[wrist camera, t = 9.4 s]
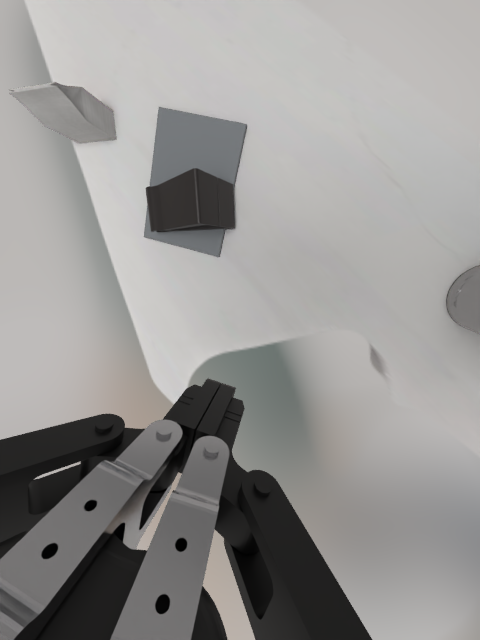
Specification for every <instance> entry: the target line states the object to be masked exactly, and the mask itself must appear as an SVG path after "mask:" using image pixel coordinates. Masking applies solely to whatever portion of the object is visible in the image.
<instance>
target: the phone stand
mask: <svg viewBox="0 0 480 640" xmlns="http://www.w3.org/2000/svg"><path fill="white" fill-rule="evenodd" d="M146 195H147V203H148V212H149V220H150V229H151V232H154V231H156V232H172V231H191V230H212V229H233V228H234V202H233V184H231V183H229V182H227V181H225V180H222V179H220V178H216V176H213V175H211V174H209V173H207V172H204V171H202V170H200V169H198V168H193V169H191V170H189V171H187V172H184V173H182V174H180V175H178V176H176V177H174V178H172V179H170V180H168V181H165V182H163V183H161V184H159V185H156V186H151V187H147V188H146Z"/></svg>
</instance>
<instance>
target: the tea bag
mask: <svg viewBox="0 0 480 640" xmlns="http://www.w3.org/2000/svg"><path fill="white" fill-rule="evenodd" d="M10 90H11V91H13V92H11V93H10V94H11V95H12V96H13V97H15V98H16V99H17V100H18V101H19V102H20V103H21V104H23V105H24V106H25V107H26V108H27V109H28V110H29V111H30V112H31V113H32V114H33V115H34V116H35V117H36V118H37V119H38V120H39V121H40V122H41V123H42V124H43V125H44V126H45V127H47V128H49V129H51V130H53V131H55V132H57V133H59V134H61V135H63V136H65V137H67V138H69V139H71V140H73V141H75V142H77V143H87V142H97V141H107V140H116V131H115V122H114V113H113V111H112V110H111V109H110V108H109V107H107V106H106V105H105V104H103V103H102V102H101V101H99V100H98V99H97V98H95V97H94V96H93V95H92V94H90V93H89V92H88V91H86V90H85V89H84V88H82V87H73V86H65V85H61V84H59V83H56V82H54V83H48V84H42V85H35V86H29V87H22V88H16V89H10Z"/></svg>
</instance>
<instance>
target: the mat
mask: <svg viewBox="0 0 480 640" xmlns="http://www.w3.org/2000/svg"><path fill="white" fill-rule="evenodd" d="M246 129H247V125H246V124H243V123H238V122H233V121H228V120H223V119H218V118H213V117H208V116H202V115H197V114H192V113H187V112H182V111H177V110H172V109H167V108H162V107H159V110H158V119H157V127H156V136H155V145H154V153H153V162H152V171H151V179H150V187H151V186H156V185H159V184H161V183H163V182H165V181H168V180H170V179H172V178H174V177H176V176H178V175H180V174H182V173H184V172H187V171H189V170H191V169H193V168H198V169H200V170H202V171H204V172H207V173H209V174H211V175H213V176H216V178H220V179H222V180H225V181H227V182H229V183H231V184H233V190H234V186H235V181H236V176H237V171H238V167H239V162H240V157H241V152H242V148H243V143H244V138H245V133H246ZM224 233H225V229H212V230H191V231H172V232H156V231H154V232H151V229H150V220H149V212H148V205H147V214H146V223H145V231H144V237H146V238H150V239H153V240H157V241H161V242H165V243H168V244H172V245H176V246H179V247H183V248H187V249H190V250H194V251H198V252H202V253H205V254H209V255H213V256H216V257H220V252H221V247H222V243H223V238H224Z"/></svg>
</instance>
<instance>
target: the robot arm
mask: <svg viewBox="0 0 480 640" xmlns="http://www.w3.org/2000/svg"><path fill="white" fill-rule="evenodd" d="M447 309H448V312H449V314H450V316H451V317H452V319H453V320H454V321H455V322H456V323H458V324H459V325H461V326H463V327H465V328H467V329H469V330H471V331H473V332H476V333H478V334H480V266H477V267H474V268H472V269H470V270H468V271H467V272H465V273H464V274H462V275H461V276H460V277H459V278H458V279H457V280H456V281H455V282H454V284H453V285H452V287H451V288H450V291H449V293H448V297H447ZM235 389H236V388H235V387H232V386H229V385H226V384H223V383H222V384H221V383H220V382H217V381H214V380H211V379H207V380H206V382H205V383H204V385H203V386H202V387H201V386H197V385H193V386H191V387H189V388H187V389H186V390H185V391H184V393H183V394H182V396H180V398H179V399H178V401H177V402H176V403H175V404H174V405H173V407H172V408H171V409H170V411H169V412H168V413H167V414H166V416H165V417H164V419H163V420H158V421H155V422H153V423H151V424H150V425H149V426H148V427H147V428H146V429H133V428H125V423H124V421H123V419H122V418H121V417H119V416H117V415H114V414H101V415H97V416H93V417H89V418H85V419H81V420H77V421H74V422H70V423H65V424H62V425H58V426H53V427H50V428H45V429H42V430H38V431H34V432H30V433H26V434H22V435H18V436H14V437H10V438H6V439H2V440H0V640H227V636H226V632H225V629H224V625H223V622H222V620H221V617H220V614H219V612H218V610H217V608H216V605H215V603H214V602H213V600H212V598H211V597H210V595H209V593H208V592H207V591H206V590H205V589H204V587H203V586H202V585H203V580H204V576H205V571H206V566H207V561H208V557H209V552H210V547H211V543H212V538H213V533H214V529H215V530H216V531H217V532H218V533H219V534H221V536H223V537H224V545H225V549H226V552H227V555H228V558H229V561H230V564H231V567H232V570H233V573H234V576H235V579H236V582H237V585H238V588H239V591H240V594H241V597H242V600H243V603H244V606H245V609H246V612H247V615H248V618H249V621H250V624H251V627H252V630H253V633H254V636H255V639H256V640H372V639H371V637H370V635H369V633H368V632H367V630H366V629H365V627H364V625H363V624H362V622H361V620H360V618H359V617H358V615H357V613H356V612H355V610H354V609H353V607H352V605H351V604H350V602H349V600H348V599H347V597H346V595H345V594H344V592H343V590H342V589H341V587H340V585H339V584H338V582H337V581H336V579H335V577H334V575H333V574H332V572H331V570H330V569H329V567H328V565H327V564H326V562H325V560H324V559H323V557H322V555H321V554H320V552H319V550H318V549H317V547H316V545H315V544H314V542H313V540H312V539H311V537H310V535H309V534H308V532H307V530H306V529H305V527H304V525H303V524H302V522H301V520H300V519H299V517H298V515H297V514H296V512H295V510H294V509H293V507H292V505H291V504H290V502H289V500H288V499H287V497H286V495H285V494H284V492H283V490H282V489H281V487H280V485H279V484H278V482H277V481H276V479H275V478H274V477H273V476H271V475H270V474H268V473H267V472H265V471H261V470H252V471H250V472H246V471H245V470H243V469H242V468H241V467H240V466H239V465H238V464H237V463H236V461H235V460H234V458H233V455H232V448H233V444H234V441H235V438H236V435H237V432H238V428H239V425H240V421H241V418H242V415H243V411H244V405H243V401H242V400H238V399H236V398H233V396H234V393H235ZM79 461H81V464H79V465H76V466H74V467H71V468H68V469H65V470H63V471H59V472H57V473H54V474H51V475H48V476H45V477H43V478H40V479H35V478H36V477H37V476H40V475H42V474H45V473H48V472H51V471H54V470H56V469H59V468H62V467H65V466H68V465H71V464H74V463H77V462H79ZM178 472H180V473H182V475H181V478H180V480H179V483H178V485H177V487H176V490H175V491H174V490H173V492H172V494H171V496H170V498H169V500H168V503H167V505H166V507H165V510H164V512H163V515H162V517H161V519H160V522H159V524H158V527H157V529H156V531H155V534H154V537H153V539H152V541H151V543H150V546H149V548H148V551H146V550H136V547H137V545H138V543H139V541H140V539H141V537H142V535H143V534H144V532H145V530H146V529H147V527H148V525H149V524H150V522H151V520H152V519H153V517H154V516H155V514H156V512H157V511H158V509H159V507H160V506H161V504H162V503H163V501H164V499H165V498H166V496H167V494H168V493H169V491H170V489H171V486H172V483H173V481H174V479H175V477H176V475H177V473H178ZM33 479H35V480H33Z"/></svg>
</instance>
